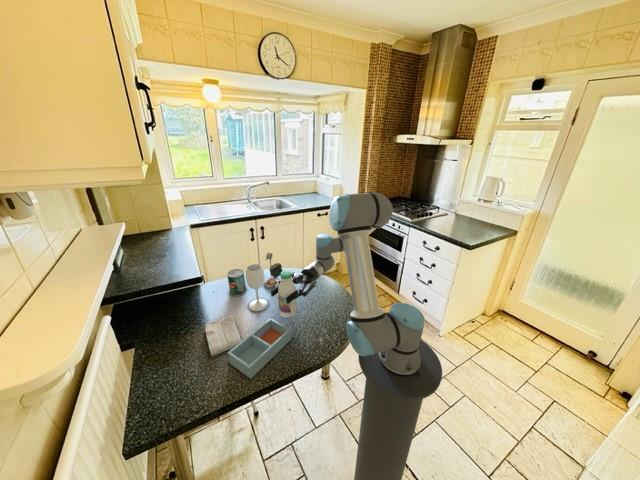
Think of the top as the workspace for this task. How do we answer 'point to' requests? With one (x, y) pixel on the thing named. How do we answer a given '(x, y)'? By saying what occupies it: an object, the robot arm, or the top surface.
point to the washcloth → (222, 335)
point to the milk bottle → (286, 295)
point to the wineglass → (256, 285)
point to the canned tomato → (236, 282)
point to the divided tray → (259, 347)
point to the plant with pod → (273, 272)
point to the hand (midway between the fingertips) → (279, 297)
